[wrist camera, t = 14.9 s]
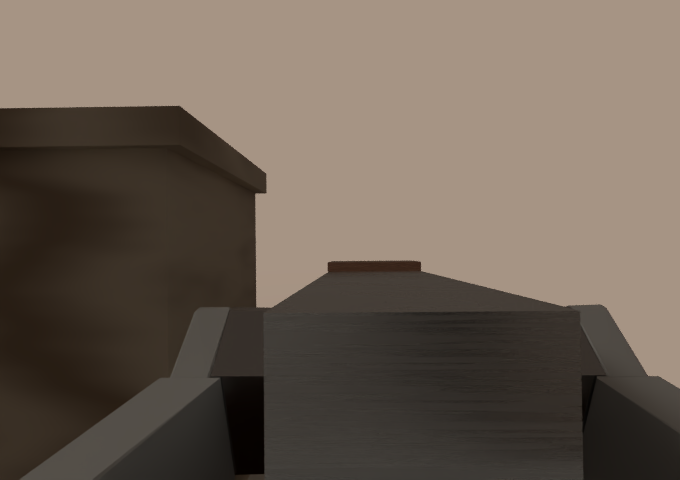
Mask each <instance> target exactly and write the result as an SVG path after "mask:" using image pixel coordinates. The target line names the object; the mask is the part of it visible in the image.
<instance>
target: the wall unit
mask: <svg viewBox="0 0 680 480" xmlns="http://www.w3.org/2000/svg"><path fill="white" fill-rule="evenodd" d="M255 193H266V173H265V172H263V171H262V170H261V169H259V168H258V167H257V166H256V165H254V164H253V163H252V162H251V161H249V160H248V159H247V158H245V157H244V156H243V155H242V154H240V153H239V152H237V151H236V150H235V149H234V148H233V147H231V146H230V145H229V144H228V143H226V142H225V141H224V140H222V139H221V138H220V137H218V136H217V135H216V134H215V133H213V132H212V131H211V130H210V129H208V128H207V127H206V126H204V125H203V124H202V123H201V122H199V121H198V120H197V119H196V118H194V117H193V116H192V115H190V114H189V113H188V112H187V111H185V110H184V109H183V108H181V107H180V106H150V107H149V106H145V107H76V108H7V109H6V108H5V109H4V108H2V109H0V480H19V479H21V478H22V477H24V476H25V475H26V474H28V473H29V472H30V471H32V470H33V469H35V468H36V467H37V466H39V465H40V464H42V463H43V462H44V461H46V460H47V459H48V458H50V457H51V456H53V455H54V454H55V453H57V452H58V451H60V450H61V449H62V448H64V447H65V446H66V445H68V444H69V443H71V442H72V441H73V440H75V439H76V438H78V437H79V436H80V435H82V434H83V433H84V432H86V431H87V430H89V429H90V428H91V427H93V426H94V425H96V424H97V423H98V422H100V421H101V420H102V419H104V418H105V417H107V416H108V415H109V414H111V413H112V412H114V411H115V410H116V409H118V408H119V407H120V406H122V405H123V404H125V403H126V402H127V401H129V400H130V399H132V398H133V397H134V396H136V395H137V394H138V393H140V392H141V391H143V390H144V389H145V388H147V387H148V386H150V385H151V384H152V383H154V382H155V381H156V380H158V379H159V378H170V376H171V374H172V371H173V368H174V366H175V363H176V360H177V358H178V355H179V352H180V350H181V347H182V344H183V342H184V339H185V336H186V334H187V331H188V328H189V326H190V323H191V320H192V318H193V315H194V312H195V311H196V310H197V309H199V308H200V307H230V308H233V307H254V308H256V245H255V244H256V238H255ZM248 478H249V475H235V479H234V480H248Z"/></svg>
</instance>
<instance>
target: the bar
mask: <svg viewBox="0 0 680 480" xmlns="http://www.w3.org/2000/svg"><path fill="white" fill-rule="evenodd" d="M263 319H264V465H265V480H583V434H582V381H581V328H580V311H579V310H575V309H571V308H567V307H563V306H559V305H555V304H551V303H547V302H543V301H539V300H535V299H531V298H527V297H523V296H519V295H514V294H511V293H506V292H503V291H499V290H495V289H490V288H487V287H483V286H478V285H474V284H470V283H466V282H462V281H458V280H454V279H450V278H446V277H442V276H438V275H434V274H430V273H426V272H422V271H421V262H418V261H332V262H328V273H326V274H325V275H323V276H322V277H320V278H319V279H317V280H315V281H314V282H312V283H311V284H309V285H307V286H306V287H304V288H303V289H301V290H299V291H298V292H296V293H295V294H293V295H292V296H290V297H288V298H287V299H285V300H284V301H282V302H280V303H279V304H277V305H276V306H274V307H272V308H271V309H269V310H268V311H266V312H265V313H263Z"/></svg>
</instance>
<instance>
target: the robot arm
mask: <svg viewBox="0 0 680 480" xmlns="http://www.w3.org/2000/svg"><path fill="white" fill-rule="evenodd" d="M567 308H571V309H575V310H579V311H580V328H581V381H582V434H583V480H680V389H679V388H677V387H675V386H674V385H672V384H670V383H669V382H667V381H666V380H664V379H662V378H661V377H658V376H648V375H647V374H646V372H645V370H644V369H643V367H642V365H641V364H640V362H639V361H638V359H637V357H636V356H635V354H634V352H633V351H632V349H631V347H630V346H629V344H628V343H627V341H626V339H625V338H624V336H623V334H622V333H621V331H620V330H619V328H618V326H617V325H616V323H615V321H614V320H613V318H612V317H611V315H610V313H609V312H608V310H607V308H605V307H604V306H602V305H575V306H567ZM269 309H271V308H254V307H233V308H230V307H200V308H199V309H197V310H196V311H195V312H194V315H193V318H192V320H191V323H190V326H189V328H188V331H187V334H186V336H185V339H184V342H183V344H182V347H181V350H180V352H179V355H178V358H177V360H176V363H175V366H174V368H173V371H172V374H171V376H170V378H159V379H158V380H156V381H155V382H154V383H152V384H151V385H150V386H148V387H147V388H145V389H144V390H143V391H141V392H140V393H138V394H137V395H136V396H134V397H133V398H132V399H130V400H129V401H127V402H126V403H125V404H123V405H122V406H120V407H119V408H118V409H116V410H115V411H114V412H112V413H111V414H109V415H108V416H107V417H105V418H104V419H102V420H101V421H100V422H98V423H97V424H96V425H94V426H93V427H91V428H90V429H89V430H87V431H86V432H84V433H83V434H82V435H80V436H79V437H78V438H76V439H75V440H73V441H72V442H71V443H69V444H68V445H66V446H65V447H64V448H62V449H61V450H60V451H58V452H57V453H55V454H54V455H53V456H51V457H50V458H48V459H47V460H46V461H44V462H43V463H42V464H40V465H39V466H37V467H36V468H35V469H33V470H32V471H30V472H29V473H28V474H26V475H25V476H24V477H22V478H21V479H19V480H234V479H235V475H251V474H265V465H264V319H263V313H265V312H266V311H268V310H269Z"/></svg>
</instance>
